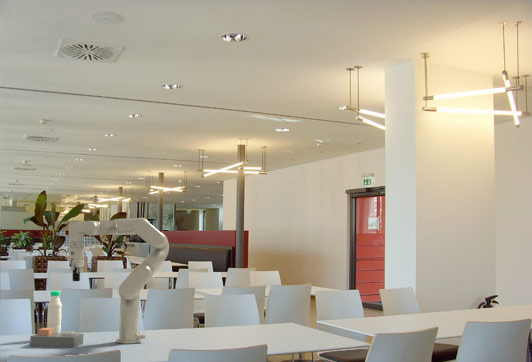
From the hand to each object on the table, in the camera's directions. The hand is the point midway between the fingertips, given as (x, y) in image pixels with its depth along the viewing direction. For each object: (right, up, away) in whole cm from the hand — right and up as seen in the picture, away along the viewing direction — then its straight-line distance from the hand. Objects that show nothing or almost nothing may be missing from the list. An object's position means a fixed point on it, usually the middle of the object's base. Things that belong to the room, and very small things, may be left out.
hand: (76, 281), depth 315 cm
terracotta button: (-12, -27, -10) cm, 32 cm away
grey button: (0, -29, -12) cm, 31 cm away
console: (-6, -30, -11) cm, 33 cm away
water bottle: (-14, -32, +6) cm, 35 cm away
